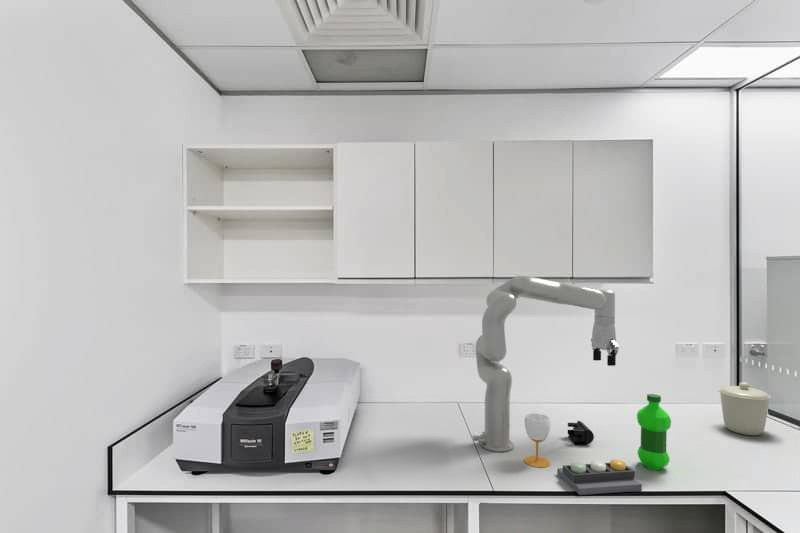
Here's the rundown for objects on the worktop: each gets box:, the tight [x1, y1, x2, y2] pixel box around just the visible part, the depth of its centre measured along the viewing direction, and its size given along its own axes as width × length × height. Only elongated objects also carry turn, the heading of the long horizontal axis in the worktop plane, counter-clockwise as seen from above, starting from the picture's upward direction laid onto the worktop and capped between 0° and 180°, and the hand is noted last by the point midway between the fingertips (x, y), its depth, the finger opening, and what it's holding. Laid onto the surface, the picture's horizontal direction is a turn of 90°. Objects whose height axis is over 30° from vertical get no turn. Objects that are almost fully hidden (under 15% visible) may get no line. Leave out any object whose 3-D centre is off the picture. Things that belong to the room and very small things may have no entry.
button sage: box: [570, 461, 586, 474], centre depth 148 cm, size 5×5×2 cm
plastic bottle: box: [636, 393, 672, 471], centre depth 161 cm, size 10×10×25 cm
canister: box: [718, 381, 772, 436], centre depth 196 cm, size 18×18×21 cm
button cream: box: [590, 460, 606, 473], centre depth 149 cm, size 5×5×2 cm
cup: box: [523, 413, 551, 468], centre depth 164 cm, size 9×9×16 cm
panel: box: [556, 462, 643, 496], centre depth 149 cm, size 21×14×4 cm, turn 99°
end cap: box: [567, 420, 595, 447], centre depth 184 cm, size 10×7×7 cm
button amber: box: [609, 459, 627, 471], centre depth 150 cm, size 5×5×2 cm
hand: (604, 362), depth 185 cm, fingers open, 9 cm apart
